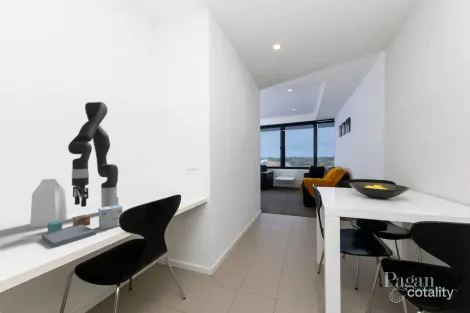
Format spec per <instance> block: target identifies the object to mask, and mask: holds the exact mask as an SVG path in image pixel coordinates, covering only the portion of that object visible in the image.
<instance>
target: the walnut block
mask: <svg viewBox="0 0 470 313" xmlns="http://www.w3.org/2000/svg"><path fill="white" fill-rule="evenodd" d="M79 225H84V226H86V227H88V226H90V225H91V216H90V215H87V214H82V215H77V216H72V227H75V226H79Z"/></svg>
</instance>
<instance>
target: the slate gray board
mask: <svg viewBox="0 0 470 313" xmlns="http://www.w3.org/2000/svg"><path fill="white" fill-rule="evenodd" d="M95 235H97V230H95V229H93V228H91V227H89V226H84V225H79V226H75V227H74V226H72V227H68V228H64V229H63V228H62V230H60V231H56V232H52V233H49V232H48V233H45V234H42V235H41V240H42V241H44V242H45V243H47V244H48V245H49V246H51V247H53V248H58V247H61V246H64V245H66V244H69V243H73V242H77V241H79V240H82V239H86V238H90V237H92V236H95Z"/></svg>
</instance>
